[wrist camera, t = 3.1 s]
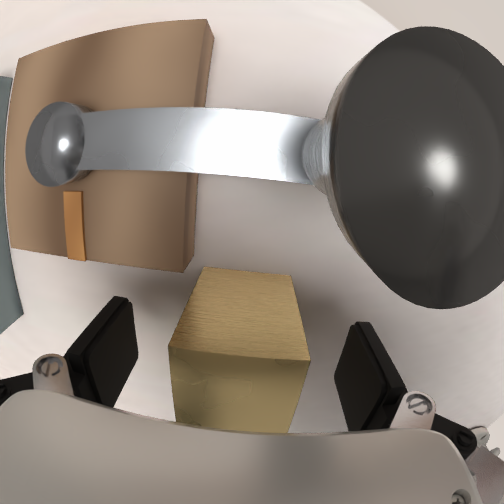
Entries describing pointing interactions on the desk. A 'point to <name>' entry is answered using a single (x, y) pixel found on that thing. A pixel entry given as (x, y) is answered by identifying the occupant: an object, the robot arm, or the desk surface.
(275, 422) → the block
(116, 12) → the desk surface
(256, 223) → the desk surface
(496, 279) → the crank
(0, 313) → the tray
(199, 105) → the crank base
